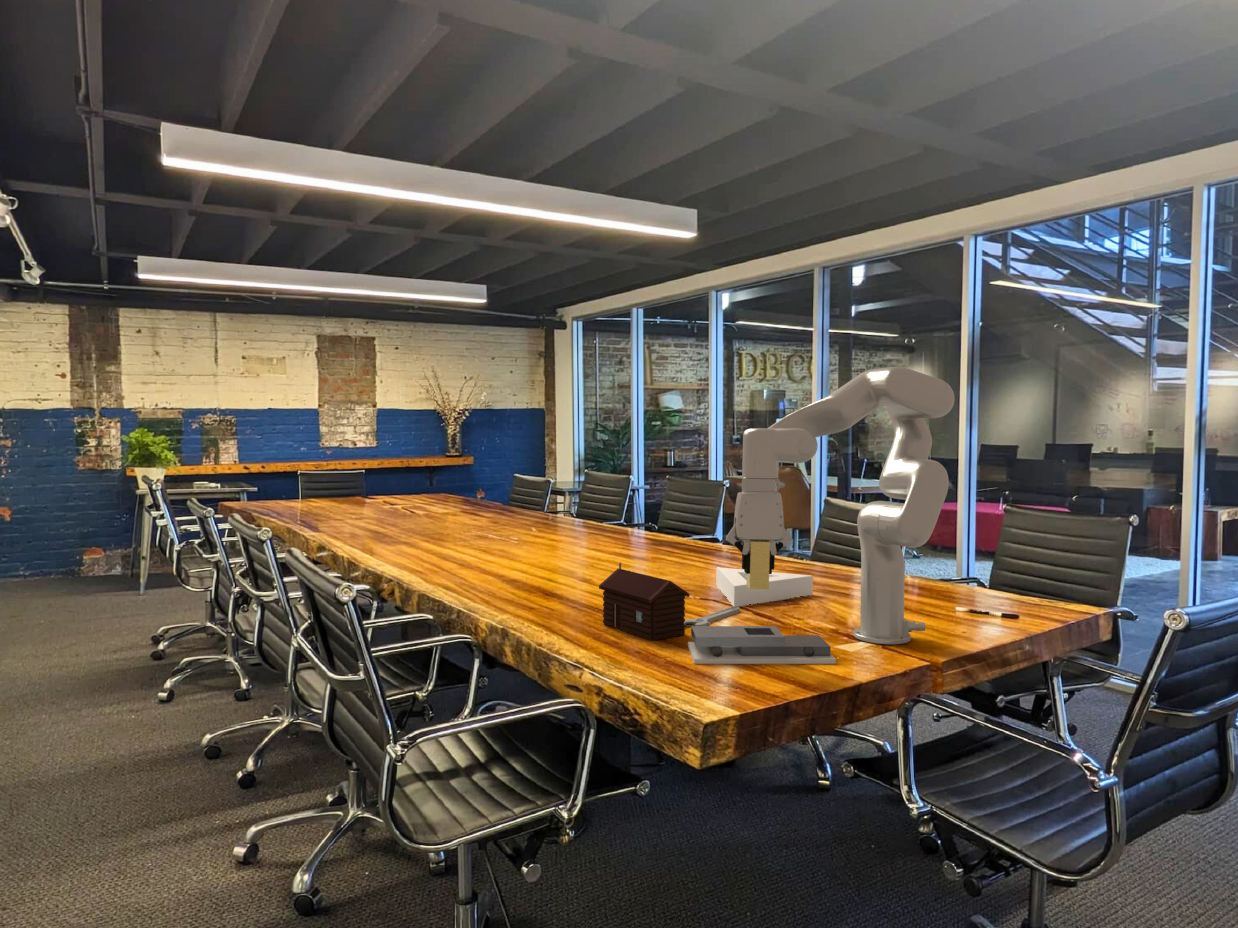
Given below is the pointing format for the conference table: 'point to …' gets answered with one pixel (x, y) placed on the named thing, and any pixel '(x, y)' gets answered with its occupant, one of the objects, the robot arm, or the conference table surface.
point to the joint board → (750, 657)
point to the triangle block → (779, 589)
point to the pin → (759, 565)
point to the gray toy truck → (758, 641)
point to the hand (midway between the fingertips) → (757, 571)
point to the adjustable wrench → (711, 617)
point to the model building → (643, 605)
